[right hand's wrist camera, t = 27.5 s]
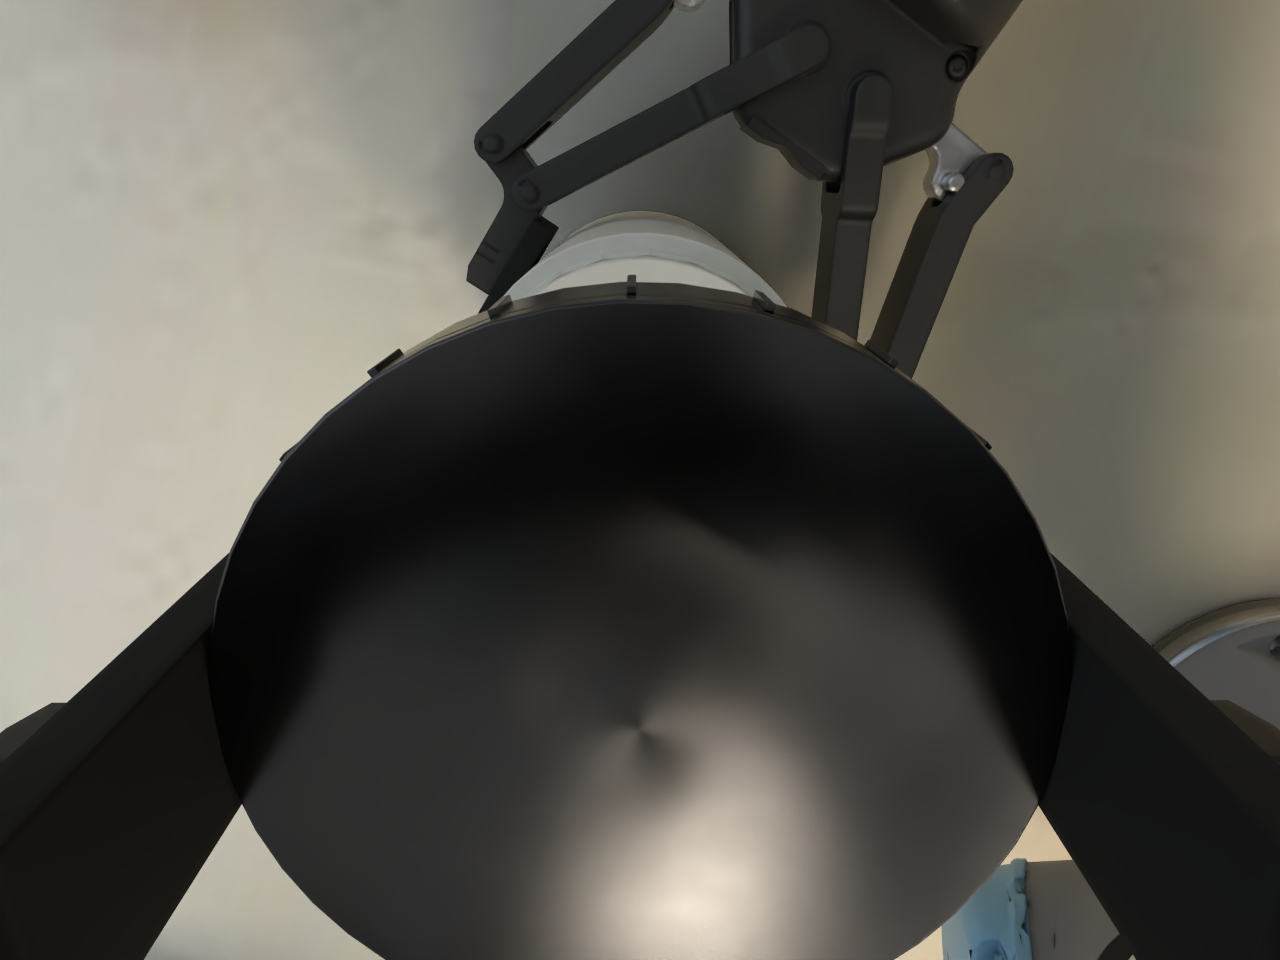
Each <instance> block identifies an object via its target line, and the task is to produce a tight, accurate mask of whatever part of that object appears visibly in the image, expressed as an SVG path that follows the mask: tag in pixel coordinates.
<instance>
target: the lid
mask: <svg viewBox="0 0 1280 960" xmlns="http://www.w3.org/2000/svg"><path fill="white" fill-rule="evenodd" d="M898 364H899V361H898V360H896V359H895V358H894V357H892V356H891V355H889V354H888V353H887V352H885V351H884V350H883V349H881V348H880V347H878V346H877V345H876V344H874V343H873V342H871V341H870V340H868V341H867V343H866V344H865V346H863V345H862V344H860V343H859V342H857V341H855V340H854V339H852V338H851V337H849V336H848V335H846V334H845V333H843V332H841V331H839V330H837V329H835V328H832V327H830V326H828V325H826V324H824V323H822V322H819V321H817V320H815V319H813V318H811V317H809V316H806V315H804V314H802V313H800V312H798V311H795V310H793V309H791V308H788V307H784V306H781V305H778V304H775V303H774V302H773V301H771V300H770V299H769V298H768V297H767V296H766V295H765V294H764V293H763V292H761V291H757V290H755V292H754V295H753V297H751V296H748V295H745V294H741V293H738V292H733V291H726V290H720V289H714V288H707V287H701V286H695V285H689V284H682V283H656V282H636V275H628V276H627V282H614V283H605V284H596V285H587V286H578V287H569V288H562V289H558V290H554V291H550V292H546V293H542V294H538V295H534V296H530V297H526V298H522V299H518V300H514V301H512V299H511V297H510V295H507V296H503V297H502V298H501V299H499V300H498V301H497V302H496V303H495V304H494V305H493V306H492V307H490V308H489V309H488V310H487V311H484V312H482V313H479V314H477V315H474V316H472V317H469V318H467V319H464V320H462V321H459V322H457V323H455V324H453V325H451V326H449V327H448V328H446V329H444V330H442V331H441V332H439V333H437V334H435V335H434V336H432V337H430V338H428V339H427V340H425V341H423V342H421V343H420V344H418V345H416V346H414V347H413V348H411V349H409V350H408V351H406V352H405V353H404V354H403V353H402V351H401V350H400V349H397V350H396V351H395V352H393V353H392V354H390V355H389V356H388V357H386V358H385V359H384V360H382V361H381V362H379V363H378V364H377V365H375V366H374V367H372V368H371V369H370V370H368V371H367V372H368V374H369V375H370V376H371V377H372V378H371V379H370V380H368V381H367V382H366V383H365V384H363V385H362V386H361V387H359V388H358V389H357V390H356V391H354V392H353V393H352V394H350V395H349V396H348V397H347V398H345V399H344V400H343V401H341V402H340V403H339V404H338V405H336V406H335V407H334V408H333V409H331V410H330V411H329V412H327V413H326V414H325V415H324V416H323V417H322V418H321V419H320V420H319V421H318V422H317V423H316V424H315V425H314V427H313V428H312V429H311V430H310V431H309V432H308V433H307V434H306V435H305V436H304V437H303V438H302V439H301V440H300V441H299V442H298V443H297V444H295V445H294V446H293V447H291V448H290V449H289V450H288V451H286V452H285V453H284V454H283V455H282V456H281V458H280V459H279V460H280V461H281V463H280V465H279V466H278V468H277V469H276V470H275V472H274V473H273V475H272V476H271V478H270V479H269V480H268V482H267V483H266V485H265V486H264V488H263V489H262V491H261V492H260V493H259V495H258V496H257V498H256V499H255V501H254V502H253V504H252V506H251V509H250V511H249V513H248V515H247V517H246V519H245V521H244V523H243V525H242V527H241V529H240V531H239V533H238V535H237V538H236V540H235V542H234V544H233V546H232V548H231V550H230V553H229V557H228V560H227V564H226V567H225V570H224V574H223V577H222V580H221V584H220V587H219V590H218V594H217V597H216V602H215V610H214V618H213V625H212V633H211V641H210V648H209V654H210V690H211V702H212V707H213V712H214V717H215V722H216V727H217V732H218V736H219V741H220V746H221V750H222V754H223V757H224V760H225V763H226V766H227V769H228V771H229V774H230V777H231V780H232V783H233V786H234V789H235V791H236V793H237V795H238V797H239V799H240V801H241V803H242V805H243V807H244V809H245V811H246V813H247V814H248V816H249V818H250V820H251V822H252V824H253V826H254V828H255V830H256V832H257V833H258V835H259V836H260V837H261V839H262V840H263V842H264V843H265V845H266V846H267V848H268V849H269V850H270V852H271V853H272V855H273V856H274V858H275V859H276V861H277V862H278V863H279V865H280V866H281V868H282V869H283V870H284V871H285V872H286V874H287V875H288V876H289V877H290V878H291V879H292V880H293V881H294V882H295V884H296V885H297V886H298V887H299V888H300V889H301V890H302V891H303V892H304V894H305V895H306V896H307V897H308V898H309V899H310V900H311V901H312V903H313V904H315V905H316V906H317V907H318V908H319V909H320V910H321V911H323V912H324V913H325V914H326V915H327V916H328V917H329V918H331V919H332V920H333V921H334V922H335V923H336V924H337V925H339V926H340V927H341V928H342V929H343V930H344V931H345V932H347V933H348V934H349V935H350V936H352V937H353V938H355V939H356V940H358V941H359V942H361V943H362V944H363V945H365V946H366V947H368V948H369V949H371V950H372V951H373V952H375V953H376V954H378V955H379V956H381V957H382V958H384V959H385V960H894V959H896V958H897V957H899V956H901V955H902V954H904V953H905V952H907V951H908V950H910V949H911V948H913V947H915V946H916V945H918V944H919V943H920V942H922V941H923V940H924V939H925V938H927V937H928V936H929V935H930V934H932V933H933V932H934V931H935V930H937V929H938V928H939V927H940V926H942V925H943V924H944V923H945V922H946V921H948V920H949V919H950V918H951V917H953V916H954V915H955V914H956V913H957V912H958V911H959V910H960V909H961V908H962V907H963V906H964V905H965V904H966V903H967V902H968V901H969V900H970V899H971V898H972V897H973V896H974V895H975V894H976V893H977V892H978V891H979V890H980V889H981V888H982V887H983V886H984V885H985V884H986V882H987V881H988V880H989V879H990V878H991V876H992V875H993V874H994V872H995V871H996V870H997V868H998V867H999V866H1000V864H1001V863H1002V862H1003V861H1004V859H1005V858H1006V857H1007V855H1008V854H1009V853H1010V851H1011V850H1012V849H1013V847H1014V846H1015V845H1016V843H1017V841H1018V840H1019V838H1020V836H1021V834H1022V833H1023V831H1024V829H1025V827H1026V826H1027V824H1028V822H1029V820H1030V819H1031V817H1032V815H1033V813H1034V812H1035V810H1036V808H1037V806H1038V805H1039V802H1040V800H1041V797H1042V795H1043V792H1044V790H1045V788H1046V785H1047V783H1048V780H1049V778H1050V775H1051V773H1052V770H1053V768H1054V765H1055V762H1056V757H1057V753H1058V748H1059V744H1060V739H1061V734H1062V730H1063V725H1064V721H1065V716H1066V711H1067V705H1068V700H1069V688H1070V676H1071V657H1070V643H1069V629H1068V616H1067V612H1066V608H1065V604H1064V600H1063V595H1062V591H1061V587H1060V583H1059V578H1058V574H1057V570H1056V566H1055V564H1054V562H1053V559H1052V557H1051V554H1050V552H1049V549H1048V547H1047V545H1046V542H1045V540H1044V537H1043V535H1042V533H1041V530H1040V528H1039V525H1038V523H1037V520H1036V518H1035V517H1034V515H1033V513H1032V512H1031V510H1030V508H1029V507H1028V505H1027V504H1026V502H1025V500H1024V499H1023V497H1022V495H1021V494H1020V492H1019V491H1018V489H1017V487H1016V486H1015V484H1014V482H1013V481H1012V479H1011V478H1010V476H1009V474H1008V473H1007V471H1006V470H1005V469H1004V468H1003V467H1002V465H1001V464H1000V463H999V462H998V461H997V460H996V458H995V457H994V456H993V455H992V454H991V453H990V451H989V450H990V449H991V448H992V447H991V445H990V444H989V443H988V442H987V441H986V440H985V439H983V438H982V437H981V436H979V435H978V434H977V433H976V432H974V431H973V430H972V429H970V428H969V427H968V426H967V425H965V424H964V423H963V422H962V421H961V420H960V419H958V418H957V417H956V416H955V415H954V414H953V413H952V412H950V411H949V410H948V409H947V408H946V407H945V406H944V405H942V404H941V403H940V402H939V401H938V400H937V399H935V398H934V397H933V396H932V395H931V394H930V393H929V392H927V391H926V390H925V389H924V388H922V387H921V386H920V385H918V384H917V383H916V382H914V381H913V380H912V379H911V378H909V377H908V376H907V375H905V374H904V373H903V372H901V371H900V370H899V369H897V368H896V367H897V365H898Z"/></svg>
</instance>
